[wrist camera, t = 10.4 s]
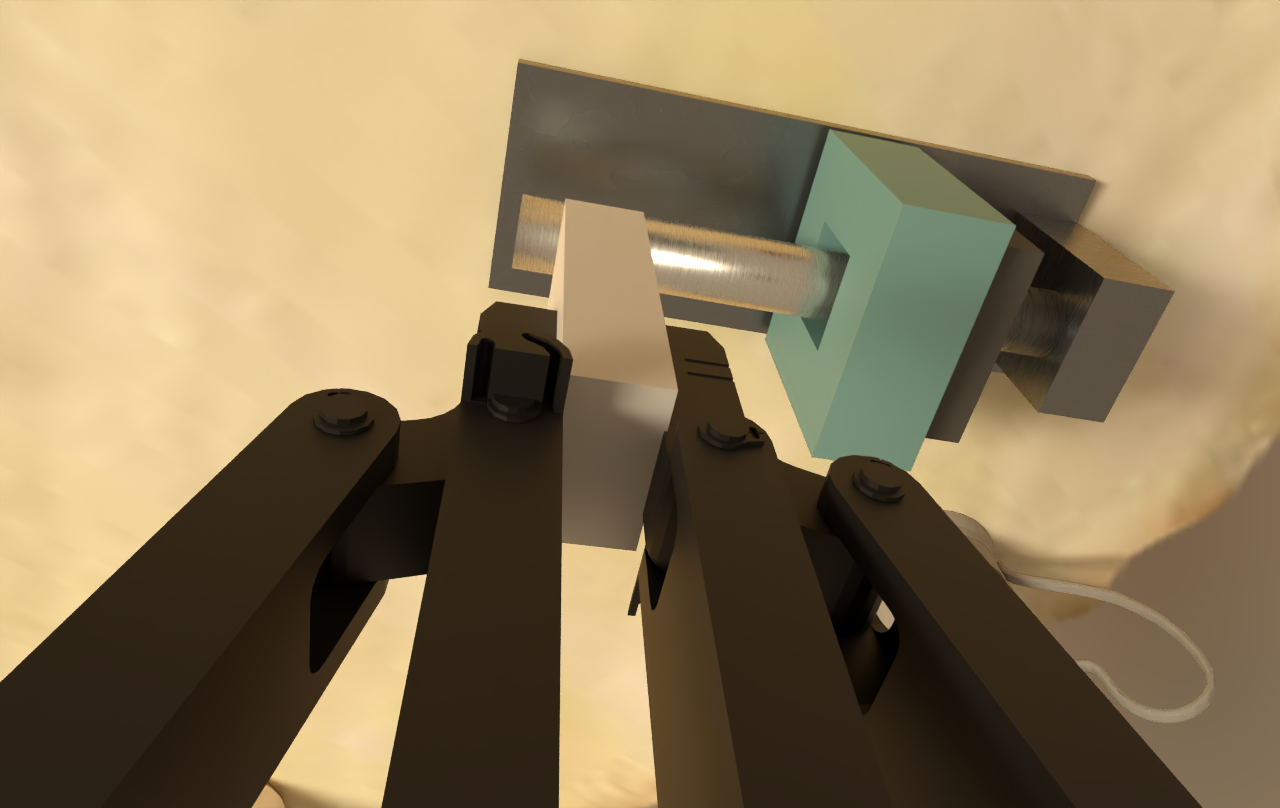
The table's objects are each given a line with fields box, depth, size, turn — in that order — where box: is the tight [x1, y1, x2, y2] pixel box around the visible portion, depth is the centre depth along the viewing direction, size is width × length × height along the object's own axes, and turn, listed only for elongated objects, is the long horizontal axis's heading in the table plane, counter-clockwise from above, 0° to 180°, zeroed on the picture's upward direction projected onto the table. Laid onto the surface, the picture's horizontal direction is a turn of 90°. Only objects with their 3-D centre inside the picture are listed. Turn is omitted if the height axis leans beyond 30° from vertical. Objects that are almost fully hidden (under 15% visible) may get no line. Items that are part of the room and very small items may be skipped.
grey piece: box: [489, 59, 1175, 422], centre depth 37 cm, size 26×10×9 cm, turn 78°
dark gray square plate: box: [925, 230, 1045, 443], centre depth 36 cm, size 2×8×8 cm, turn 169°
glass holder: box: [876, 510, 1216, 723], centre depth 46 cm, size 9×14×15 cm, turn 115°
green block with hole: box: [765, 129, 1016, 471], centre depth 36 cm, size 4×10×10 cm, turn 168°
